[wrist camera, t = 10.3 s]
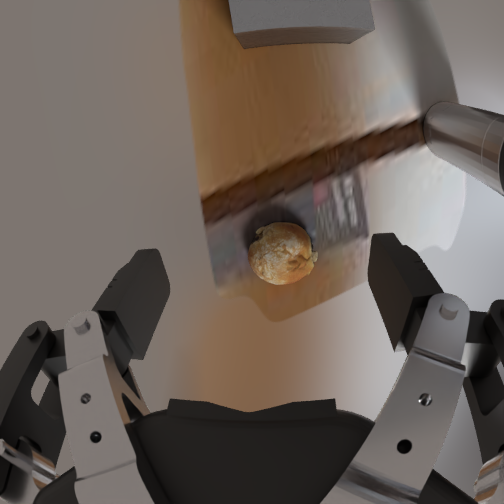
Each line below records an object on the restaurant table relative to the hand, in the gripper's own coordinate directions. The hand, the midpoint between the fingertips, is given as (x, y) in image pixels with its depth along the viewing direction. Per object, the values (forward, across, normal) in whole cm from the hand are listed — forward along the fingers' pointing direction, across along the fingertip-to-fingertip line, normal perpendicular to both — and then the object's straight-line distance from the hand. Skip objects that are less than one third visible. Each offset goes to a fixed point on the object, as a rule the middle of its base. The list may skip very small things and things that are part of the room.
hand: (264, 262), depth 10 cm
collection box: (+30, -5, -22) cm, 37 cm away
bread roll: (+30, -1, +17) cm, 35 cm away
